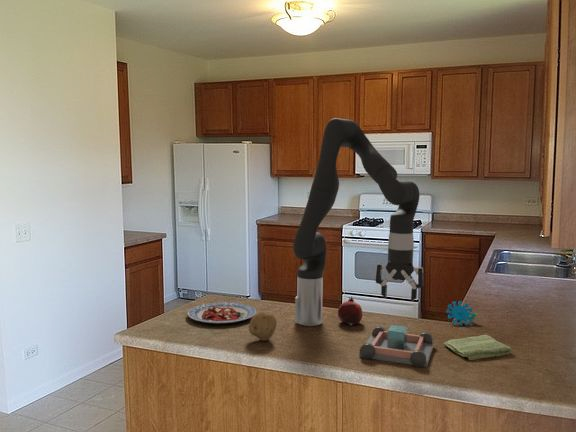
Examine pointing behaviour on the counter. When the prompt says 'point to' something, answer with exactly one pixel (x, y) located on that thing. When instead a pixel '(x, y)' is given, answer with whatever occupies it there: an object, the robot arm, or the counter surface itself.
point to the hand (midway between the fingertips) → (398, 298)
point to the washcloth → (478, 347)
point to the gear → (461, 313)
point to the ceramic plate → (221, 312)
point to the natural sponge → (263, 325)
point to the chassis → (413, 353)
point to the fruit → (350, 312)
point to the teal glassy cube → (397, 337)
